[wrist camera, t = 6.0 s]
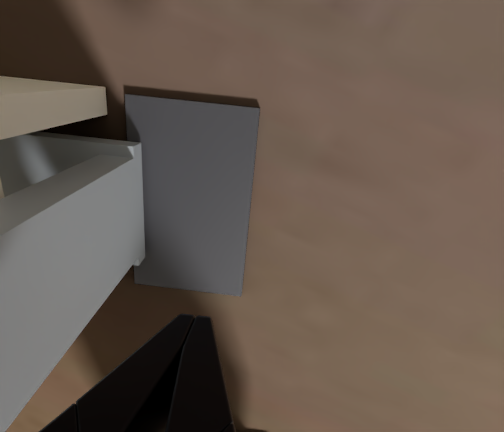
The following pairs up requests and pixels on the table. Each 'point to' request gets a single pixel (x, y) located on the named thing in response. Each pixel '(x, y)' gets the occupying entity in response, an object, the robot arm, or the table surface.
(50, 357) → the bracket
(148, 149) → the tunnel
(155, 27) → the table surface
